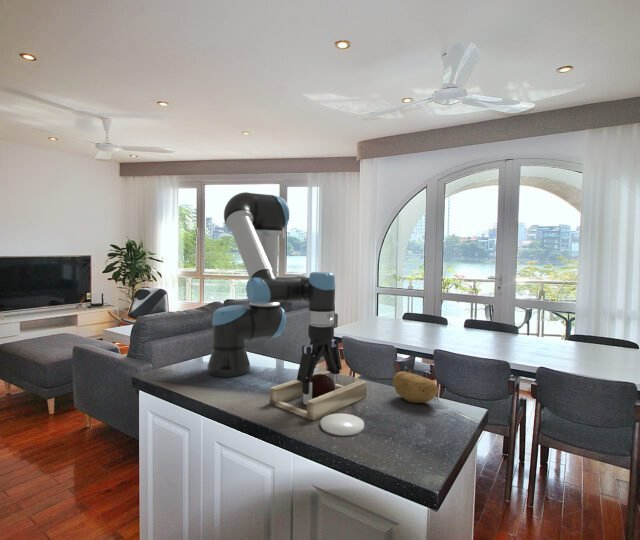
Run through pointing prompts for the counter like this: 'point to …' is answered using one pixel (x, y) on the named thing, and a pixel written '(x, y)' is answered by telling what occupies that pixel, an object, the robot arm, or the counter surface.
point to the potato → (414, 387)
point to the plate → (342, 424)
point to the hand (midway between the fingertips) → (319, 399)
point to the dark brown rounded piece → (321, 385)
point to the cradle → (319, 404)
